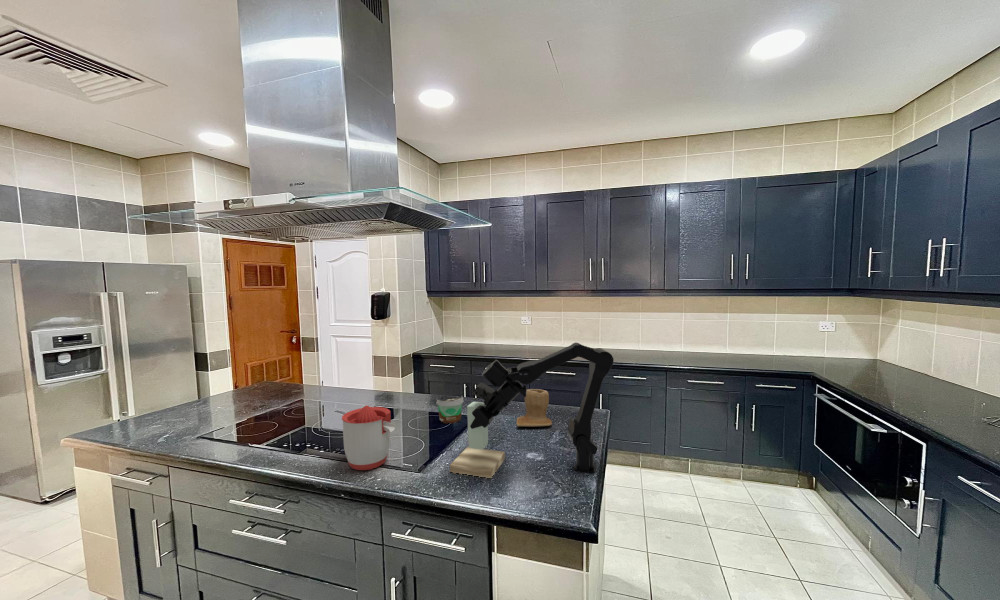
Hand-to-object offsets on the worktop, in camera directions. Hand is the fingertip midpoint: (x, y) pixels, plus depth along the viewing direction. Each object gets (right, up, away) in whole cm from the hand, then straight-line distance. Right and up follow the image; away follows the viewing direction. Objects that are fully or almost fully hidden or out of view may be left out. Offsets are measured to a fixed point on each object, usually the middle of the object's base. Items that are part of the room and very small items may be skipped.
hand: (474, 424), depth 128 cm
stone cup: (+23, -12, +36) cm, 44 cm away
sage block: (+1, -7, 0) cm, 7 cm away
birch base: (+1, -14, 0) cm, 14 cm away
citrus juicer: (-36, -14, +3) cm, 38 cm away
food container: (-12, -12, +40) cm, 44 cm away
